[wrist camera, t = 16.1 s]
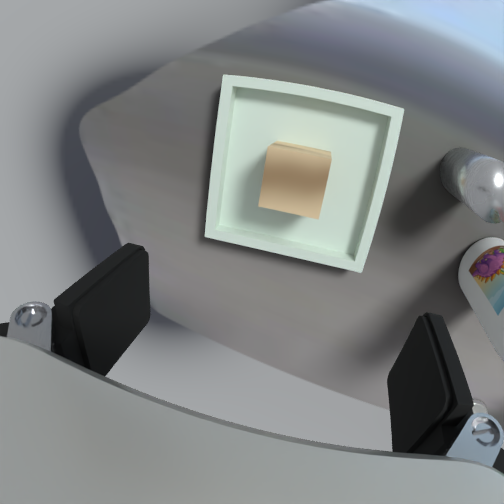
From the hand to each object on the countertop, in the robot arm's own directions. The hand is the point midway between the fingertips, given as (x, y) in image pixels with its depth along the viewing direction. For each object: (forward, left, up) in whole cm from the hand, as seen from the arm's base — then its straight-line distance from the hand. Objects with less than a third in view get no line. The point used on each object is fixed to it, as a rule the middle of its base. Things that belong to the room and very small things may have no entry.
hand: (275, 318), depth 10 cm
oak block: (+1, +1, -22) cm, 22 cm away
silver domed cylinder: (+5, -15, -23) cm, 27 cm away
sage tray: (+1, +1, -23) cm, 23 cm away
